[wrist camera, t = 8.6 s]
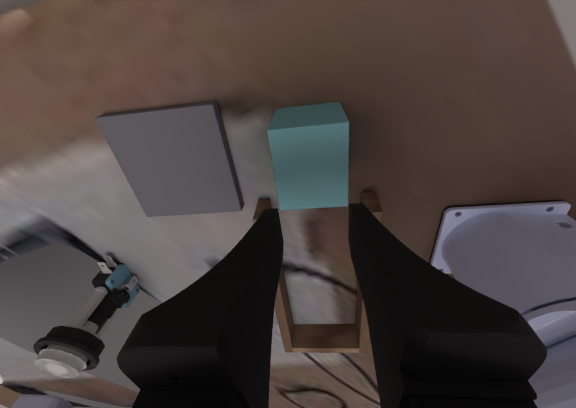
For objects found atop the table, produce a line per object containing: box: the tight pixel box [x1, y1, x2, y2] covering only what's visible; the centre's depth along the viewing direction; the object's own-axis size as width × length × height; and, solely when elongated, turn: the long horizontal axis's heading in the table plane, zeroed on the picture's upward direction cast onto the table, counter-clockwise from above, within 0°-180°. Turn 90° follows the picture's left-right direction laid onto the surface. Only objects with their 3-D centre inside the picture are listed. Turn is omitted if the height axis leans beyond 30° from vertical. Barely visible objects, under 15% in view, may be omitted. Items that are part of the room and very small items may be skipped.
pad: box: [95, 101, 244, 217], centre depth 21 cm, size 9×9×1 cm
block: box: [267, 102, 349, 210], centre depth 17 cm, size 4×6×5 cm
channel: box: [253, 191, 383, 353], centre depth 27 cm, size 10×21×3 cm, turn 7°
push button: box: [33, 256, 139, 378], centre depth 26 cm, size 7×5×10 cm
